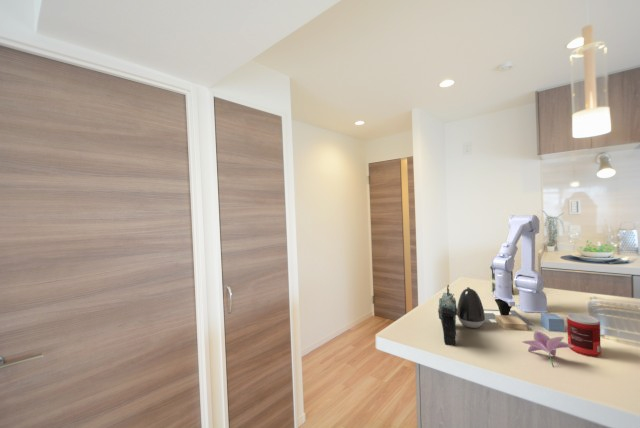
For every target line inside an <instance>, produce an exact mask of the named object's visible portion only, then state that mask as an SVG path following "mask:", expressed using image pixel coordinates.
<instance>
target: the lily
mask: <svg viewBox="0 0 640 428" xmlns="http://www.w3.org/2000/svg"><path fill="white" fill-rule="evenodd" d="M564 338H565V337H564V336H557V337H549V335H547V334H545V333H543V332H542V331H538V330H535V331H534V332H533V340H524V341H521V342H522V343H523V344H525V345H528V346H529V347H528V349H527V352H536V351H544V352H546V353H548V356H549V359H550V363H551V366H552V368H554V363H553V360H552V357H551V356H554V357H555V356H556V355H557V354H556V353H557V349H561V348H562V349H565V348H566V349H567V348H569V349H570V347H574V346H572V345H570V344H568V342H563V339H564Z"/></svg>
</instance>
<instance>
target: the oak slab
mask: <svg viewBox="0 0 640 428" xmlns="http://www.w3.org/2000/svg"><path fill="white" fill-rule="evenodd" d="M495 321H496V322H497V323H498V324H497V325H499V326H500V327H501V328H502V329H503V330H507V331H525V332H526V331H528V325H527V324H526V323H525V322H524V321H522V320H521V319H520V318H519V317H517V316H510V315H495Z"/></svg>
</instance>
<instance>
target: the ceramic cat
mask: <svg viewBox="0 0 640 428" xmlns="http://www.w3.org/2000/svg"><path fill="white" fill-rule="evenodd" d="M449 287H450V285H449V284H447V285H446V292H443V293H442V296H441V297H440V298H439V299H438V301H439V302H438V309H437V312H438V319H439V320H440V323H441V327H442V332H443V333H442V335H443V342H444V345H446V346H452V347H456V345H457V344H456V342H457V334H456V333H457V332H456V331H457V328H456V326H457V320H456V319H457V314H458V313H457V300H456V298H455V297H454V296H455V294H454V293H453V294H452V293H451V292H450V289H449Z"/></svg>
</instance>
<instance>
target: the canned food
mask: <svg viewBox="0 0 640 428" xmlns="http://www.w3.org/2000/svg"><path fill="white" fill-rule="evenodd" d="M600 323H601V322H600V320H599V319H598V318H597V317H595V316H592V315H588V314H584V313H583V314H582V313H579V312H578V313H575V312H573V313H568V314H567V315H566V325H567V326H566V327H567V329H566V330H567V331H566V332H567V344H570V345H572V346H574V347H570V348H569V349H570V350H571V351H573V352H574V353H576V354H579V355H582V356H587V357H592V358H593V357H595V358H597V357H599V356H600V355H601V352H602V350H601V349H602V348H601V347H602V346H601V324H600Z"/></svg>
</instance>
